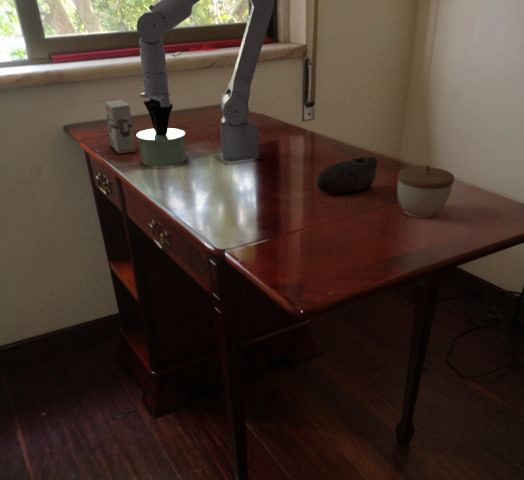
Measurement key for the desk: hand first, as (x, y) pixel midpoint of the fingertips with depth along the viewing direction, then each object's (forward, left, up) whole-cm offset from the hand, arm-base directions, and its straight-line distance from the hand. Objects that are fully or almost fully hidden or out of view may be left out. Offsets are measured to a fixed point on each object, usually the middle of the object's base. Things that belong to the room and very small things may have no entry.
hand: (160, 132), depth 133 cm
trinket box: (-38, +56, -7) cm, 68 cm away
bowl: (0, 0, -7) cm, 7 cm away
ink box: (+7, -16, -7) cm, 19 cm away
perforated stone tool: (-31, +39, -7) cm, 50 cm away
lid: (0, 0, -1) cm, 1 cm away
